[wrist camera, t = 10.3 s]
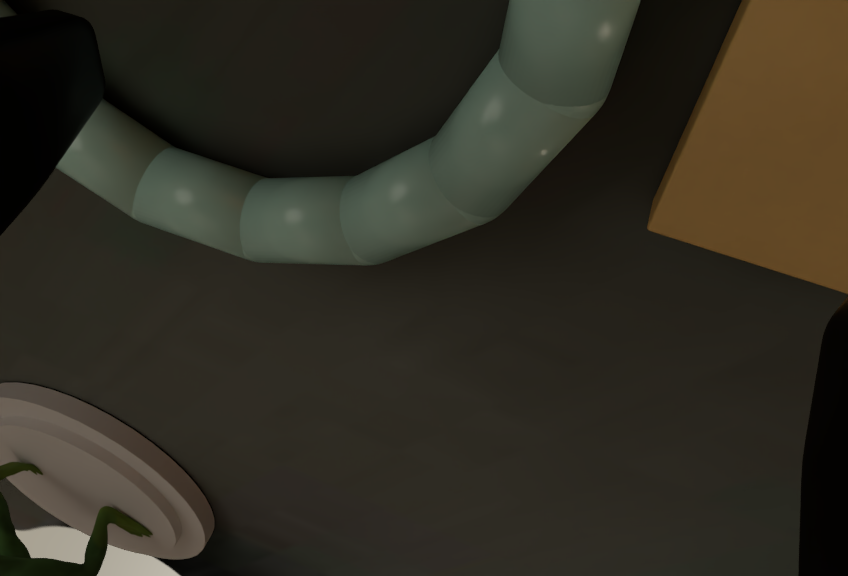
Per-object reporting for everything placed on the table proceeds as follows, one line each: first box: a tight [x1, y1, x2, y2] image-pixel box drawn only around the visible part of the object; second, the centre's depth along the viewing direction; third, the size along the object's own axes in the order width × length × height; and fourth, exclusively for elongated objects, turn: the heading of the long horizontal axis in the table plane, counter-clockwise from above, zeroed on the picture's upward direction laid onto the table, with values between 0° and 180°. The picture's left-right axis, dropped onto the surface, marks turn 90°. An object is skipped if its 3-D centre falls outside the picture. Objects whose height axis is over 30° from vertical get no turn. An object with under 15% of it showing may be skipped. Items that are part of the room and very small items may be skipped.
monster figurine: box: [0, 382, 214, 576], centre depth 31 cm, size 12×12×10 cm
